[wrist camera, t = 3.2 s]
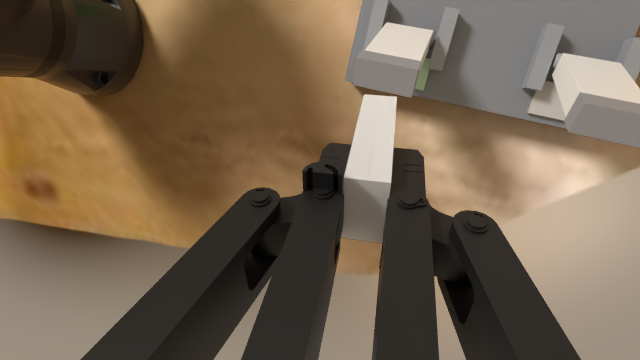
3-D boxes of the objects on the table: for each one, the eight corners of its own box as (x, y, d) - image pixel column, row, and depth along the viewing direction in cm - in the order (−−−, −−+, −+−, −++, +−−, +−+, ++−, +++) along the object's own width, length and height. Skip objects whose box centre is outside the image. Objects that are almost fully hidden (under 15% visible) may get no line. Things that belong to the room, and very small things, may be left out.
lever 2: (546, 69, 31) (566, 131, 23) (558, 45, 29) (582, 102, 21) (605, 80, 30) (646, 149, 22) (619, 56, 28) (669, 119, 20)
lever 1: (384, 39, 34) (351, 84, 26) (388, 16, 33) (354, 57, 25) (431, 48, 33) (412, 98, 25) (437, 25, 32) (419, 69, 24)
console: (351, 81, 38) (341, 79, 34) (384, -67, 35) (378, -91, 30) (587, 133, 33) (610, 138, 29) (657, -36, 30) (695, -59, 25)
